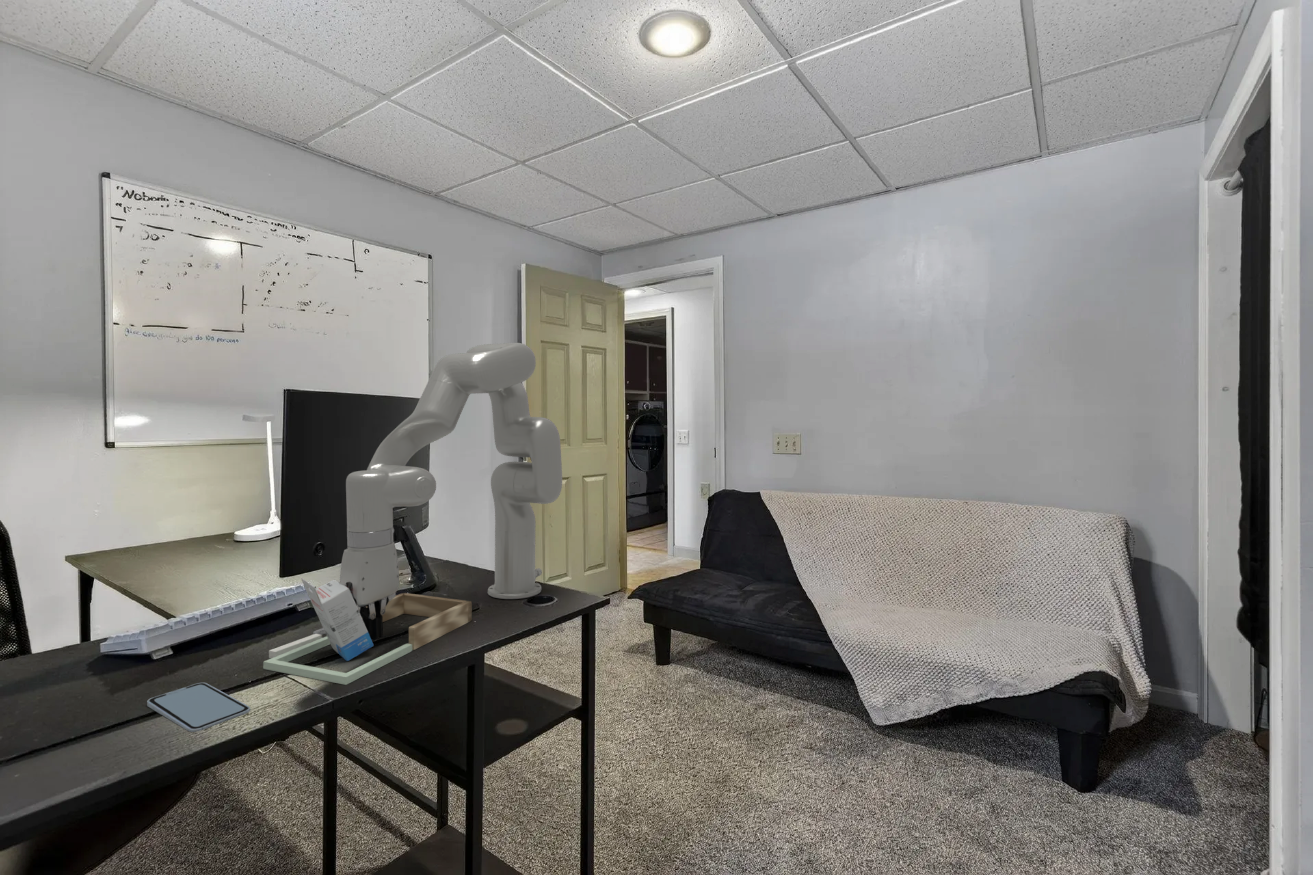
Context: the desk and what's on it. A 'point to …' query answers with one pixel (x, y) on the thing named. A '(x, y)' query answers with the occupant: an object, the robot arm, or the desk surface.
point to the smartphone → (197, 706)
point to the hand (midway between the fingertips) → (372, 637)
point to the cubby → (429, 615)
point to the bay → (284, 666)
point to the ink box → (339, 618)
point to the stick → (293, 645)
